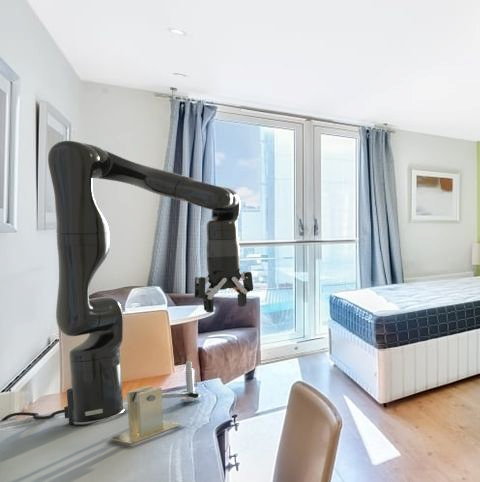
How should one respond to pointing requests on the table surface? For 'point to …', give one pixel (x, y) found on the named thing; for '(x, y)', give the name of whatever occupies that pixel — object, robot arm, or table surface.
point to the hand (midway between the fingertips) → (226, 309)
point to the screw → (189, 383)
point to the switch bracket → (144, 416)
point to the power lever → (174, 395)
